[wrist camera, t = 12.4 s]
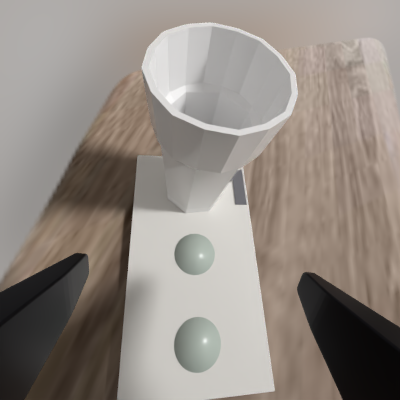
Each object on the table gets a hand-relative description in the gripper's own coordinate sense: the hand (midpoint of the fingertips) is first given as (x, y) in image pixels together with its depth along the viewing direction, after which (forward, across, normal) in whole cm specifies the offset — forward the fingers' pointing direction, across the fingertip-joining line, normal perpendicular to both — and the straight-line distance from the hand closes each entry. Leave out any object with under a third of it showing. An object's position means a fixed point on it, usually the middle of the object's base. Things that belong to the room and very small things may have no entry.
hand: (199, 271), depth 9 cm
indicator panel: (+8, 0, +5) cm, 9 cm away
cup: (+11, 0, 0) cm, 11 cm away
